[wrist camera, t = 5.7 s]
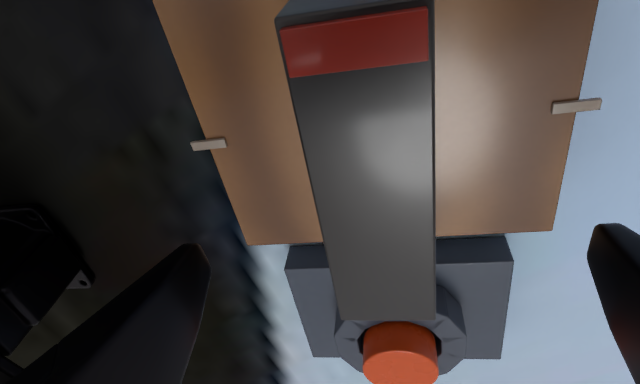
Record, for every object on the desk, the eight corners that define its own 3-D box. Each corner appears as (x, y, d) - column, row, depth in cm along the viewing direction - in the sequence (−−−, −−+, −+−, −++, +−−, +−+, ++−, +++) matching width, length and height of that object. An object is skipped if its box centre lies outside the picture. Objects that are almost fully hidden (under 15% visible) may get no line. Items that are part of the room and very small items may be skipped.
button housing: (316, 333, 27) (308, 385, 24) (289, 245, 22) (276, 297, 19) (494, 333, 24) (508, 391, 22) (505, 235, 20) (525, 292, 17)
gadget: (424, 229, 17) (437, 327, 13) (348, 233, 18) (339, 327, 14) (418, -42, 11) (436, -5, 7) (305, -22, 12) (269, 20, 8)
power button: (367, 359, 22) (366, 391, 21) (359, 318, 20) (358, 350, 19) (435, 360, 21) (439, 393, 20) (434, 318, 19) (438, 351, 18)
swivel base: (257, 235, 22) (244, 272, 20) (145, -74, 14) (102, -67, 12) (543, 220, 19) (563, 261, 17) (616, -183, 11) (673, -200, 9)
